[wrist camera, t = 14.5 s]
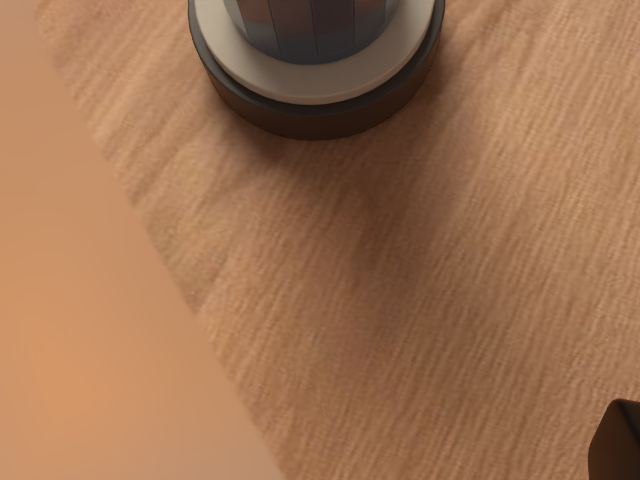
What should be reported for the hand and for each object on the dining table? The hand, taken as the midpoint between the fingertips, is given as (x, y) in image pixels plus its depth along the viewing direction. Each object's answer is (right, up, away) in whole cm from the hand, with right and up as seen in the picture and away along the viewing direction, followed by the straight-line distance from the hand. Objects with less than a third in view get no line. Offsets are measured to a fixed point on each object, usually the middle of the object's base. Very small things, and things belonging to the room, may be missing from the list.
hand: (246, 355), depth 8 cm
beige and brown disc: (+1, +9, +15) cm, 18 cm away
